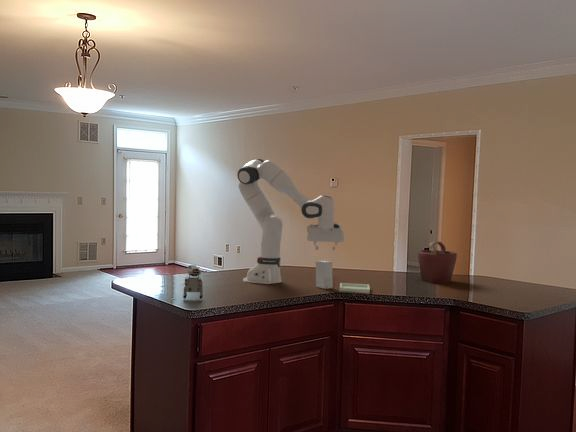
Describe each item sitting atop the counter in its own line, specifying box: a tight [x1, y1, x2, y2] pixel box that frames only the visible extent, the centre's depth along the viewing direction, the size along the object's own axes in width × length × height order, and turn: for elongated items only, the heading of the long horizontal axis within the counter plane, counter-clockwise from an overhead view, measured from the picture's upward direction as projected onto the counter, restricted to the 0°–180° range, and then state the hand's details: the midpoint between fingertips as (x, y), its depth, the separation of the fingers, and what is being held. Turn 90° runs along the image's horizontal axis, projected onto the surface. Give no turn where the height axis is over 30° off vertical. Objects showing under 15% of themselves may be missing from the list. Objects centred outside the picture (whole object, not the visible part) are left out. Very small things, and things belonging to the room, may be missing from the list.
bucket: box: [417, 240, 458, 285], centre depth 327 cm, size 24×22×25 cm
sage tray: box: [338, 282, 371, 295], centre depth 288 cm, size 16×16×2 cm
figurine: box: [182, 264, 204, 299], centre depth 254 cm, size 9×12×15 cm
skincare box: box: [315, 260, 333, 290], centre depth 293 cm, size 8×6×15 cm
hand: (325, 249), depth 293 cm, fingers open, 8 cm apart
